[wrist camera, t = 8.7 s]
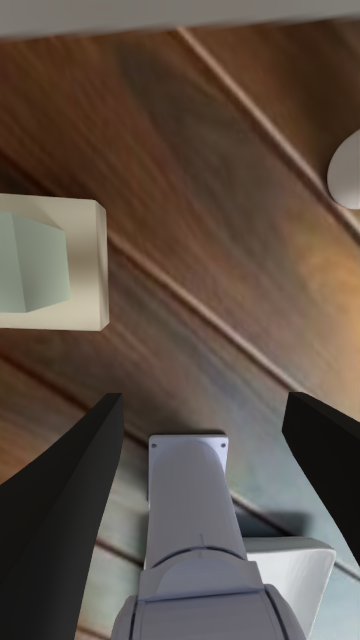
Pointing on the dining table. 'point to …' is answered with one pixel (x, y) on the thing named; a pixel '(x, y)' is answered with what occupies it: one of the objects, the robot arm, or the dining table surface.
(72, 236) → the birch base
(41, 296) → the sage block
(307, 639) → the salad plate
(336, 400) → the dining table surface
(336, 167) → the drinking glass
